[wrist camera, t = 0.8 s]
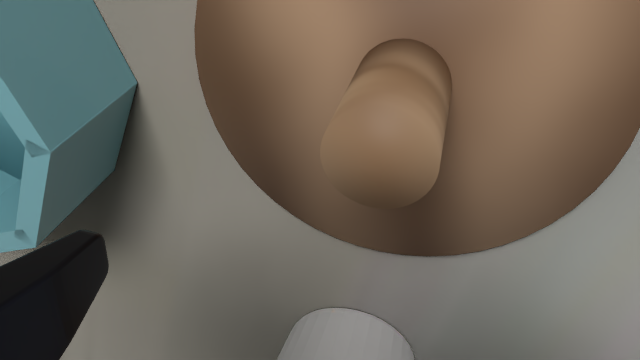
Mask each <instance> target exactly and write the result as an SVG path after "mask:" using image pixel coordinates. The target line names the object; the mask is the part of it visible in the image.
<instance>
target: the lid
mask: <svg viewBox="0 0 640 360" xmlns="http://www.w3.org/2000/svg"><path fill="white" fill-rule="evenodd" d="M195 55H196V61H197V68H198V74H199V80H200V84H201V87H202V91H203V94H204V98H205V101H206V105H207V107H208V109H209V112H210V114H211V117H212V119H213V121H214V124H215V126H216V128H217V130H218V132H219V134H220V135H221V137H222V139H223V141H224V142H225V144H226V146H227V148H228V149H229V151H230V152H231V154H232V155H233V156H234V158H235V159H236V161H237V162H238V163H239V165H240V166H241V168H242V169H243V170H244V171H245V172H246V173H247V174H248V175H249V177H250V178H251V179H252V180H253V181H254V182H255V183H256V185H257V186H258V187H260V188H261V189H262V190H263V191H264V192H265V193H266V194H267V195H268V196H269V197H271V198H272V199H273V200H274V201H275V202H276V203H278V204H279V205H280V206H282V207H283V208H284V209H286V210H287V211H288V212H290V213H291V214H292V215H294V216H295V217H297V218H299V219H300V220H302V221H304V222H305V223H307V224H309V225H310V226H312V227H314V228H316V229H318V230H320V231H322V232H324V233H326V234H329V235H331V236H333V237H335V238H338V239H340V240H343V241H346V242H349V243H352V244H354V245H357V246H361V247H365V248H369V249H373V250H377V251H381V252H387V253H394V254H401V255H412V256H447V255H458V254H465V253H471V252H478V251H482V250H486V249H490V248H494V247H498V246H501V245H505V244H507V243H510V242H513V241H515V240H518V239H521V238H523V237H526V236H528V235H530V234H532V233H534V232H536V231H538V230H540V229H542V228H544V227H546V226H548V225H550V224H552V223H553V222H555V221H556V220H558V219H559V218H561V217H562V216H564V215H565V214H567V213H568V212H570V211H571V210H573V209H574V208H575V207H576V206H578V205H579V204H580V203H581V202H582V201H583V200H585V199H586V198H587V197H588V196H589V195H591V194H592V193H593V192H594V191H595V190H596V189H597V188H598V187H599V186H600V185H601V183H602V182H603V181H604V180H605V179H606V178H607V177H608V176H609V175H610V174H611V172H612V171H613V170H614V169H615V167H616V166H617V165H618V163H619V162H620V160H621V159H622V157H623V156H624V154H625V153H626V152H627V150H628V149H629V147H630V146H631V144H632V142H633V140H634V138H635V136H636V134H637V132H638V130H639V128H640V0H198V1H197V10H196V20H195Z"/></svg>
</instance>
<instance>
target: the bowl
mask: <svg viewBox="0 0 640 360" xmlns="http://www.w3.org/2000/svg"><path fill="white" fill-rule="evenodd" d="M136 85H137V81H136V79H135V77H134V75H133V74H132V72H131V70H130V68H129V66H128V64H127V63H126V61H125V59H124V57H123V55H122V53H121V51H120V50H119V48H118V46H117V44H116V42H115V40H114V38H113V37H112V35H111V33H110V31H109V29H108V27H107V25H106V24H105V22H104V20H103V18H102V16H101V14H100V13H99V11H98V9H97V7H96V5H95V3H94V1H93V0H0V253H1V252H8V251H15V250H21V249H28V248H36V247H37V246H38V245H39V244H40V243H41V242H42V241H43V240H44V239H45V238H46V237H47V236H48V235H49V234H50V233H51V232H52V231H53V230H54V229H55V228H56V227H57V226H58V225H59V224H60V223H61V222H62V221H63V220H64V219H65V218H66V217H67V216H68V215H69V214H70V213H71V212H72V211H73V210H74V209H75V208H76V207H77V206H78V205H79V204H80V203H81V202H82V201H83V200H84V199H85V198H86V197H87V196H88V195H89V194H90V193H92V192H93V191H94V190H95V189H96V188H97V187H98V186H99V185H100V184H101V183H102V182H103V181H104V180H105V179H106V178H107V177H108V176H109V175H110V174H111V173H112V172H113V171H114V170H115V166H116V162H117V158H118V154H119V150H120V147H121V143H122V139H123V135H124V131H125V127H126V124H127V120H128V116H129V112H130V108H131V105H132V101H133V97H134V93H135V89H136Z"/></svg>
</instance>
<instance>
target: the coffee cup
mask: <svg viewBox="0 0 640 360" xmlns="http://www.w3.org/2000/svg"><path fill="white" fill-rule="evenodd" d="M277 360H414V354H413V352H412V350H411V347H410V345H409V343H408V342H407V341H406V339H405V338H404V337H403V336H402V335H401V334H400V333H399V332H398V331H397V330H396V329H395V328H394V327H392V326H391V325H389V324H388V323H386V322H385V321H383V320H381V319H379V318H377V317H375V316H373V315H371V314H368V313H365V312H361V311H358V310H353V309H347V308H326V309H320V310H316V311H313V312H311V313H309V314H307V315H305V316H303V317H302V318H301V319H300V320H299V321H297V322H296V324H295V325H294V327H293V329H292V330H291V332H290V334H289V336H288V338H287V340H286V342H285V344H284V346H283V348H282V350H281V352H280V354H279V356H278V358H277Z"/></svg>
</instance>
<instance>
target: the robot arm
mask: <svg viewBox="0 0 640 360" xmlns="http://www.w3.org/2000/svg"><path fill="white" fill-rule="evenodd" d="M108 267H109V265H108V258H107V252H106V246H105V240H104V238H103V236H102V235H101V234H99V233H95V232H92V231H88V230H79V231H76V232H74V233H72V234H69V235H67V236H65V237H63V238H61V239H59V240H56V241H54V242H52V243H50V244H48V245H46V246H43V247H41V248H39V249H37V250H35V251H33V252H30V253H28V254H26V255H24V256H22V257H20V258H17V259H15V260H13V261H11V262H9V263H7V264H4V265H2V266H0V360H59V359H60V357H61V356H62V355H63V353H64V351H65V350H66V348H67V347H68V345H69V344H70V342H71V340H72V338H73V337H74V335H75V333H76V331H77V330H78V328H79V326H80V324H81V322H82V320H83V318H84V317H85V315H86V313H87V311H88V309H89V307H90V306H91V304H92V302H93V300H94V298H95V296H96V294H97V293H98V291H99V289H100V287H101V285H102V283H103V282H104V280H105V278H106V275H107V273H108Z"/></svg>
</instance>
